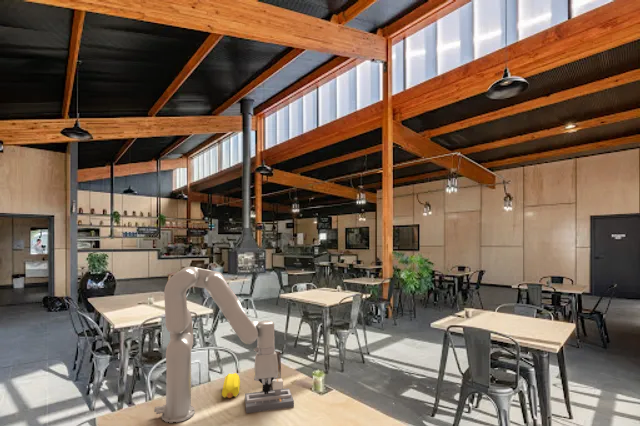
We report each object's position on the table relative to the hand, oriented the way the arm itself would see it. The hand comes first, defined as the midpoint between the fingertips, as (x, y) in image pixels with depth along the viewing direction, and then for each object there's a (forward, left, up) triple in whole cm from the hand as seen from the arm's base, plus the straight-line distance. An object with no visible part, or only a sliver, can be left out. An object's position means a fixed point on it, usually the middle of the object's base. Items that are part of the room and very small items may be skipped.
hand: (266, 392), depth 151 cm
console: (+1, 0, -4) cm, 5 cm away
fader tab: (+5, 0, -2) cm, 5 cm away
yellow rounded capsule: (-15, +16, -5) cm, 23 cm away
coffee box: (+4, +14, -5) cm, 16 cm away
